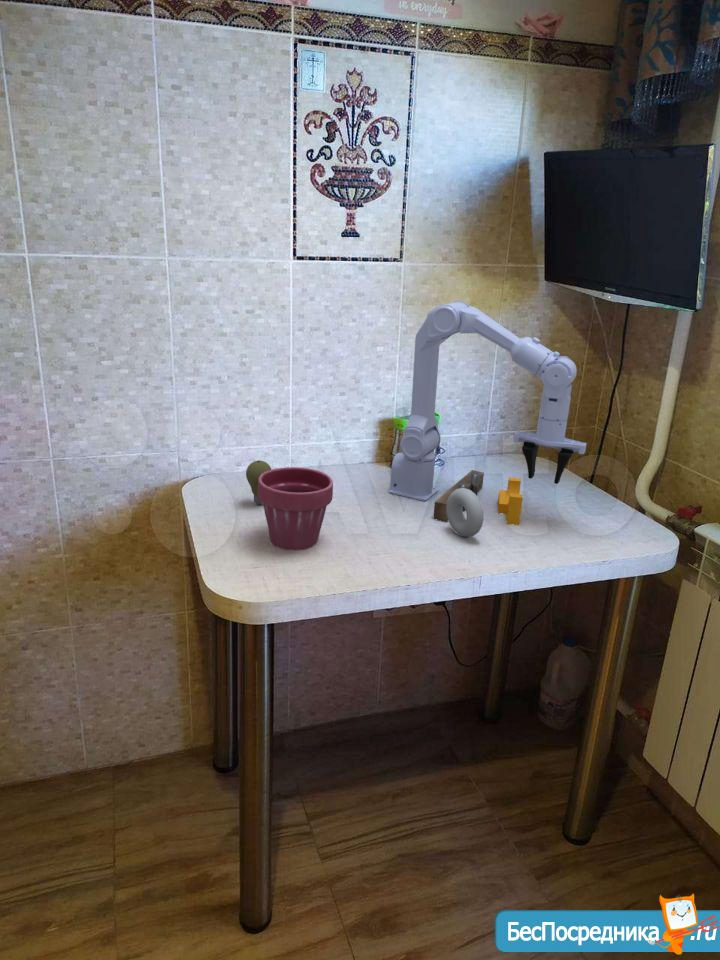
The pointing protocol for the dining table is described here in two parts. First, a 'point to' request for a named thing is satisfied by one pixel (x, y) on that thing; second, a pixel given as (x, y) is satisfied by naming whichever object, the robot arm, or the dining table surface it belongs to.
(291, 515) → the plant pot
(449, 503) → the donut
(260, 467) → the light bulb
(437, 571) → the dining table surface
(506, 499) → the pipe clamp
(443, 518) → the bench fence
